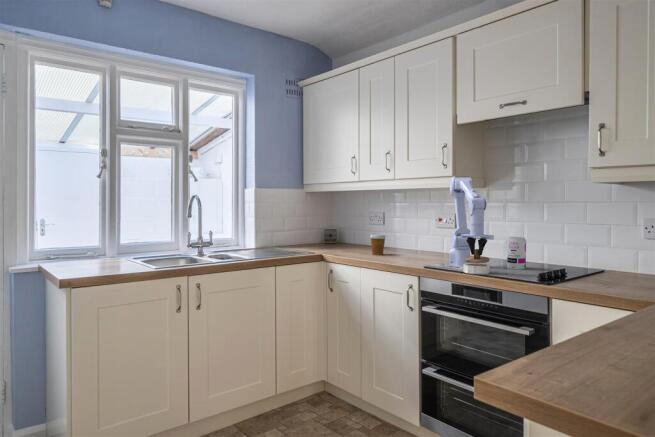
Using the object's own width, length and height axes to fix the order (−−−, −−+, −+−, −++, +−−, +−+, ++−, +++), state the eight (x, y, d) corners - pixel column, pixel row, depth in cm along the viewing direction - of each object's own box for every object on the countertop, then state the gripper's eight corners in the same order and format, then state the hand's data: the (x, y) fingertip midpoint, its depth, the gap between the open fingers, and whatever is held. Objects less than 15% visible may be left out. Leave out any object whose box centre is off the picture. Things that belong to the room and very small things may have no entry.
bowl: (459, 273, 206) (459, 265, 205) (469, 270, 214) (469, 262, 214) (483, 275, 198) (483, 267, 198) (493, 272, 207) (493, 264, 207)
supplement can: (524, 267, 222) (524, 236, 221) (526, 270, 214) (527, 238, 213) (506, 267, 224) (506, 236, 224) (508, 269, 216) (508, 237, 216)
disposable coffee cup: (371, 255, 270) (371, 235, 269) (368, 253, 279) (368, 234, 279) (387, 255, 271) (387, 235, 271) (383, 253, 280) (383, 234, 280)
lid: (460, 261, 207) (460, 250, 206) (472, 257, 214) (472, 247, 213) (481, 263, 199) (481, 252, 199) (493, 260, 206) (493, 248, 205)
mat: (482, 271, 211) (482, 270, 211) (491, 268, 219) (491, 267, 219) (513, 274, 202) (513, 273, 202) (521, 271, 210) (521, 270, 210)
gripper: (457, 224, 207) (457, 254, 208) (489, 225, 198) (489, 257, 198) (464, 223, 212) (464, 253, 213) (495, 224, 203) (495, 255, 203)
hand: (476, 255), depth 206 cm, fingers closed on lid, 3 cm apart
